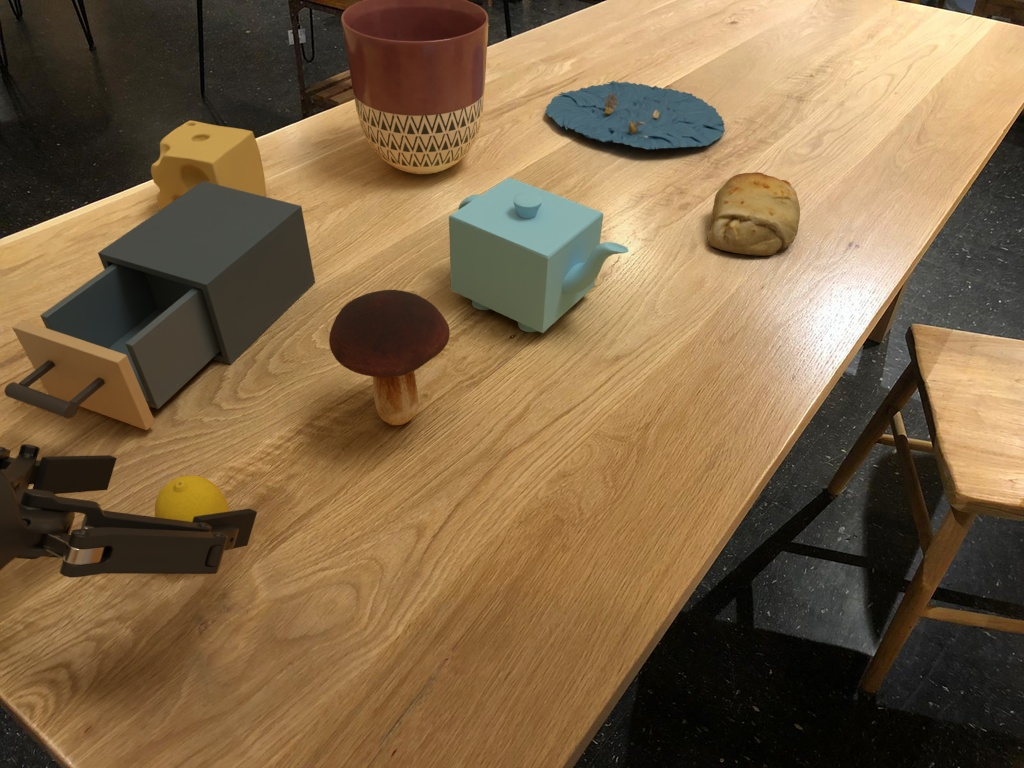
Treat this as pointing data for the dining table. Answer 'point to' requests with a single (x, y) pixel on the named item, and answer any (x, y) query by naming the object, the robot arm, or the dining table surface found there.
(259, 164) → the cheese
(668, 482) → the dining table surface
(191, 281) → the cabinet
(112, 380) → the drawer
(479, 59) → the planter
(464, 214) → the teapot
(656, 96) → the decorative plate
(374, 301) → the decorative mushroom
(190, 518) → the lemon
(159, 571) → the robot arm
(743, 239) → the pastry
